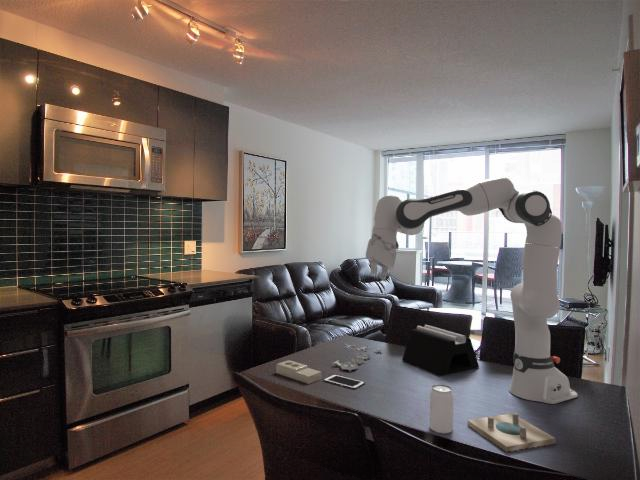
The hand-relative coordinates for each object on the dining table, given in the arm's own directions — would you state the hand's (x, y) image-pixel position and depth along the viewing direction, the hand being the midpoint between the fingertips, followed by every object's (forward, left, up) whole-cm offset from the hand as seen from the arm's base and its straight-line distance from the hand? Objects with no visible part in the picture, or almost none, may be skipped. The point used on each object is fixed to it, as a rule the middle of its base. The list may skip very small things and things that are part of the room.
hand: (378, 277), depth 149 cm
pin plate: (-23, +39, -41) cm, 61 cm away
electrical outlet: (+23, -23, -42) cm, 53 cm away
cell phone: (+8, -12, -41) cm, 44 cm away
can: (-6, +31, -41) cm, 52 cm away
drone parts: (-5, -41, -42) cm, 59 cm away
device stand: (-39, -21, -41) cm, 61 cm away
